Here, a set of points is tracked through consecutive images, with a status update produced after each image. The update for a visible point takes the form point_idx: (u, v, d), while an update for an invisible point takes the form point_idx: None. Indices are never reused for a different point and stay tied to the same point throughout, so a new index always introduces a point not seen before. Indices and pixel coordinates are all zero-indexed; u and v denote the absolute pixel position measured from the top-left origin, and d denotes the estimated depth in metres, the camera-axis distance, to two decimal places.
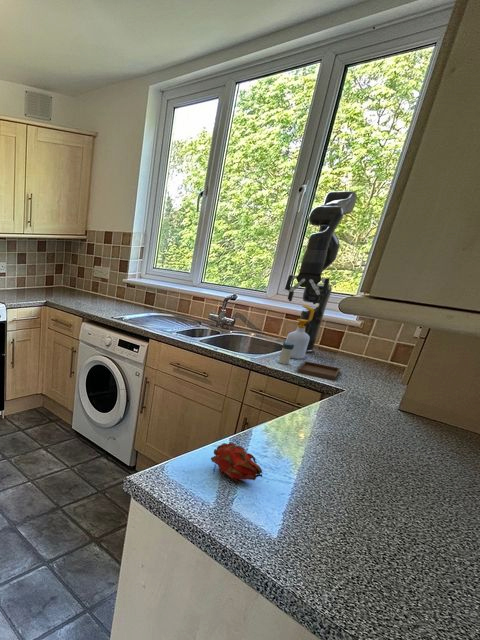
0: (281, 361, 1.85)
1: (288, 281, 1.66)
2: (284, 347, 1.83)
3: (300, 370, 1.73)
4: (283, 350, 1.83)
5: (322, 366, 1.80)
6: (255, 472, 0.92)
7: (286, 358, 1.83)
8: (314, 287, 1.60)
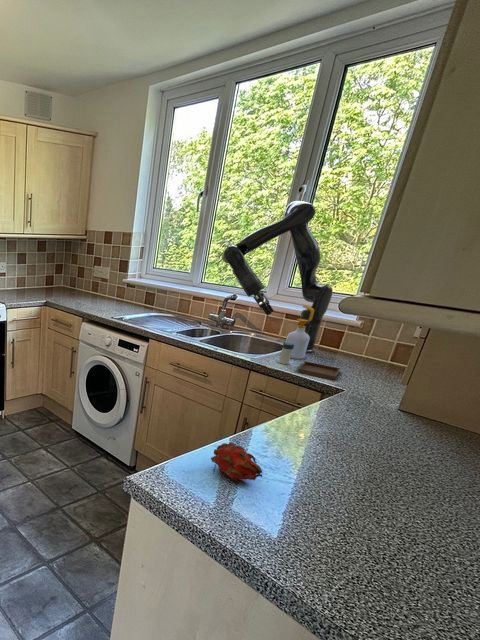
0: (281, 361, 1.85)
1: None
2: (284, 347, 1.83)
3: (300, 370, 1.73)
4: (283, 350, 1.83)
5: (322, 366, 1.80)
6: (255, 472, 0.92)
7: (286, 358, 1.83)
8: None
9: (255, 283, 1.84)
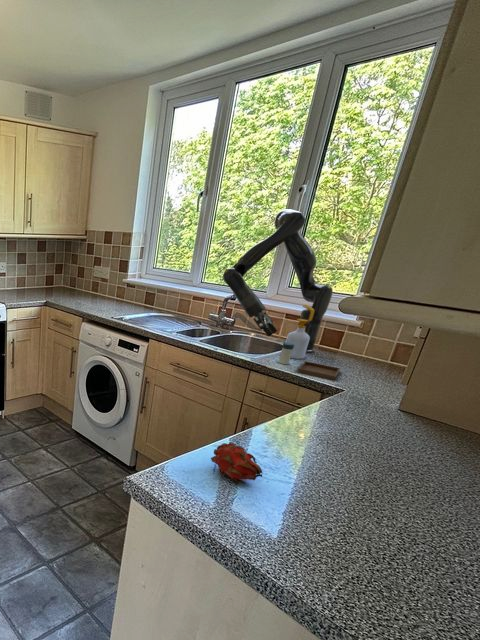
0: (281, 361, 1.85)
1: None
2: (284, 347, 1.83)
3: (300, 370, 1.73)
4: (283, 350, 1.83)
5: (322, 366, 1.80)
6: (255, 472, 0.92)
7: (286, 358, 1.83)
8: None
9: (255, 304, 1.85)
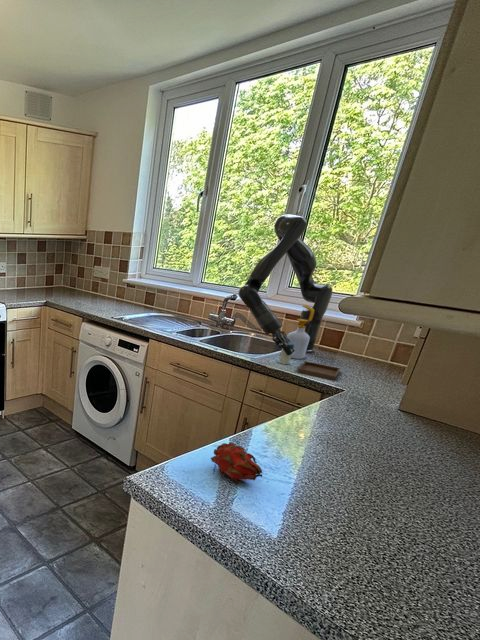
0: (282, 361, 1.85)
1: None
2: None
3: (300, 370, 1.73)
4: (283, 350, 1.83)
5: (322, 366, 1.80)
6: (255, 472, 0.92)
7: (286, 358, 1.83)
8: None
9: (272, 322, 1.82)
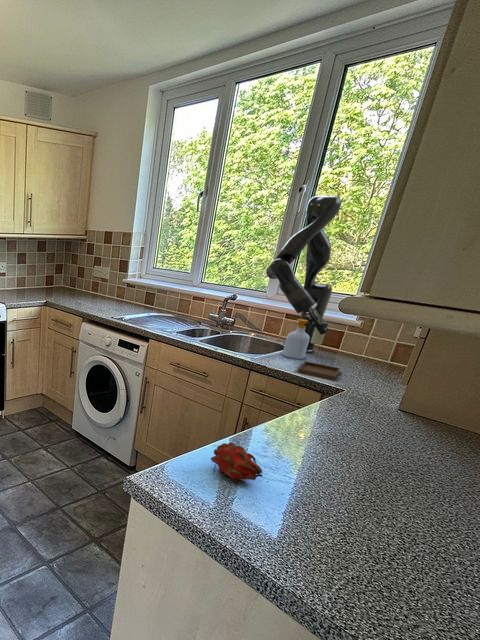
0: (314, 341, 1.73)
1: None
2: None
3: (300, 370, 1.73)
4: (316, 329, 1.71)
5: (322, 366, 1.80)
6: (255, 472, 0.92)
7: (320, 338, 1.71)
8: None
9: (305, 299, 1.70)
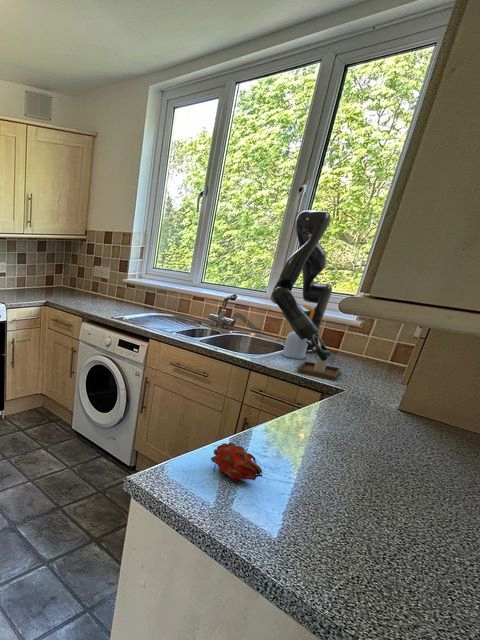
0: (317, 370, 1.74)
1: None
2: None
3: (300, 370, 1.73)
4: (319, 357, 1.73)
5: None
6: (255, 472, 0.92)
7: (322, 366, 1.72)
8: None
9: (308, 326, 1.71)
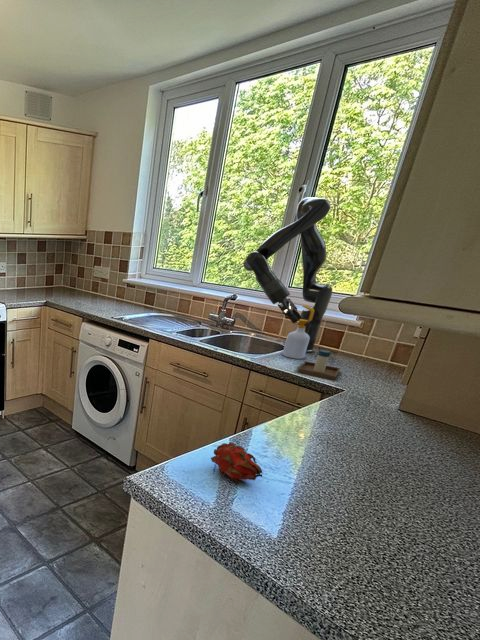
0: (317, 370, 1.74)
1: None
2: (320, 354, 1.72)
3: (300, 370, 1.73)
4: (319, 357, 1.73)
5: None
6: (255, 472, 0.92)
7: (322, 366, 1.72)
8: None
9: (279, 290, 1.76)
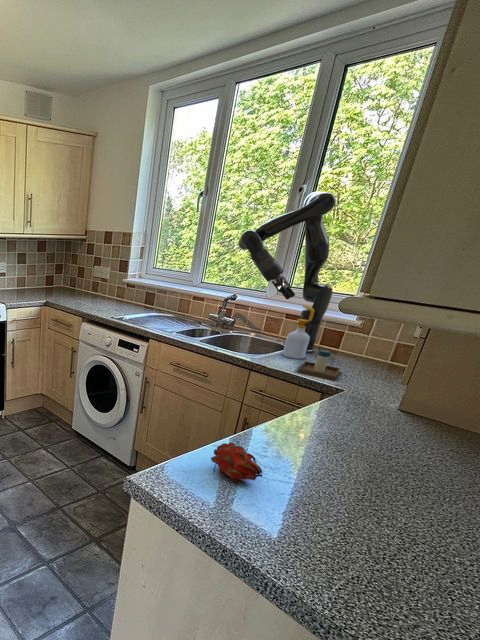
0: (317, 370, 1.74)
1: None
2: (320, 354, 1.72)
3: (300, 370, 1.73)
4: (319, 357, 1.73)
5: None
6: (255, 472, 0.92)
7: (322, 366, 1.72)
8: None
9: (273, 267, 1.81)
